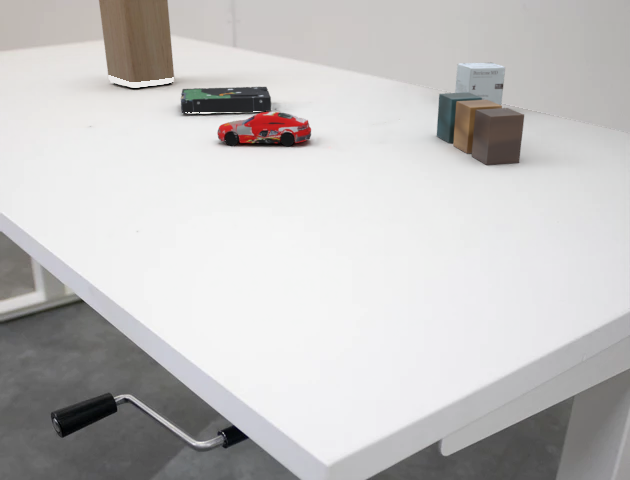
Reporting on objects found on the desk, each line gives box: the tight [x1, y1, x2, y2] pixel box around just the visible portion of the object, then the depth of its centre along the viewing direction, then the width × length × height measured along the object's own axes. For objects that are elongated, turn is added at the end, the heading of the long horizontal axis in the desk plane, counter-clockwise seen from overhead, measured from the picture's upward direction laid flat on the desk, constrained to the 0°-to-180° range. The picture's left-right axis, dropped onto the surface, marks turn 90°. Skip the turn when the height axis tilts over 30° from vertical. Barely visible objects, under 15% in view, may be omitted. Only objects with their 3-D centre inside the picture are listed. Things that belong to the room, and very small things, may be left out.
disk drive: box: [180, 86, 272, 114], centre depth 128 cm, size 10×3×15 cm
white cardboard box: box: [454, 62, 506, 106], centre depth 124 cm, size 6×6×7 cm
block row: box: [436, 92, 525, 166], centre depth 101 cm, size 16×4×6 cm, turn 14°
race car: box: [216, 111, 312, 147], centre depth 106 cm, size 13×5×4 cm, turn 84°
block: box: [98, 0, 175, 82], centre depth 147 cm, size 10×10×20 cm
